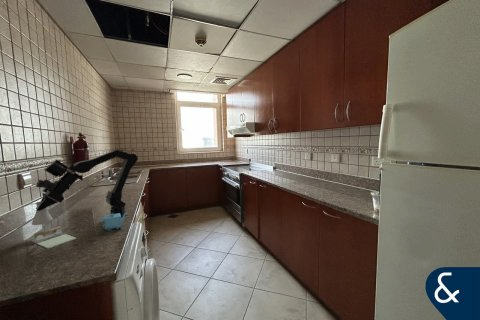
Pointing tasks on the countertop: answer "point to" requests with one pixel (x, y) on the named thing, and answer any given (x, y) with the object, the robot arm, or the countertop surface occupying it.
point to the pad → (56, 241)
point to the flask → (41, 216)
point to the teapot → (113, 221)
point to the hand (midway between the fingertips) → (37, 209)
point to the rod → (47, 231)
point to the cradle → (41, 238)
